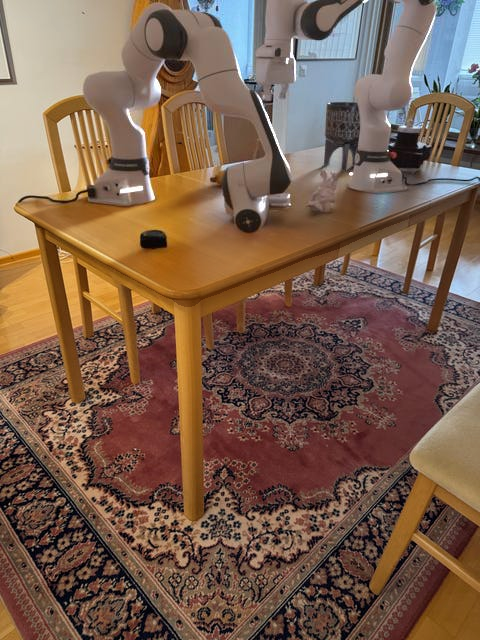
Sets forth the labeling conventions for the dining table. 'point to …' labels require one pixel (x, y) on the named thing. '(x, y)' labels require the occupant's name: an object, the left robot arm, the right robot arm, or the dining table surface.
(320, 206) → the figurine
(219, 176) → the toy
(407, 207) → the dining table surface
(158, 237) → the tape measure
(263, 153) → the bottle
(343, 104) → the planter
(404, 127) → the mechanical component
